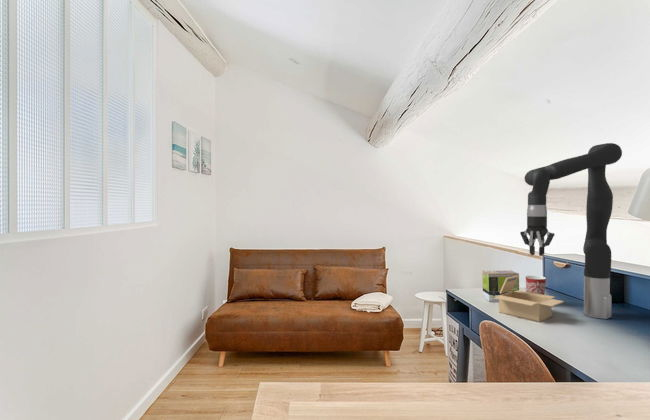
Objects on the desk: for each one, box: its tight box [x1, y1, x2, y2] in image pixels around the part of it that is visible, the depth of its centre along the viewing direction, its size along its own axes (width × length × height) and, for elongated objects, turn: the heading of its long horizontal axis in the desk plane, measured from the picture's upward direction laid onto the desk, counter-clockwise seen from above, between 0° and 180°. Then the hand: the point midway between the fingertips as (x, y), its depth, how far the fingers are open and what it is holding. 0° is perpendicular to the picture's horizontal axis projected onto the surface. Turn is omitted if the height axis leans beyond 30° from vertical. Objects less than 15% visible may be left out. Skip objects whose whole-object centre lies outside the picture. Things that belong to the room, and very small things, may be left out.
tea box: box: [482, 269, 520, 303], centre depth 192 cm, size 15×10×15 cm, turn 84°
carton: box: [495, 289, 565, 323], centre depth 164 cm, size 22×22×8 cm
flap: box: [500, 275, 518, 294], centre depth 171 cm, size 1×11×8 cm, turn 128°
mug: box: [525, 275, 547, 295], centre depth 185 cm, size 13×9×14 cm
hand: (536, 255), depth 162 cm, fingers open, 3 cm apart
